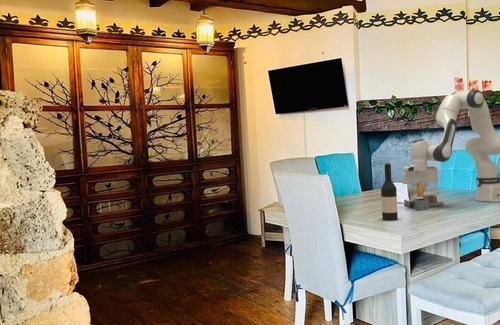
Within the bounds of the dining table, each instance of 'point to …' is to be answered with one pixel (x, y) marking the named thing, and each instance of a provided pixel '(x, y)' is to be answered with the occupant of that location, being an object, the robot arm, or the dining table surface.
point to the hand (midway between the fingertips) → (420, 190)
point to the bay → (432, 204)
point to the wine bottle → (389, 197)
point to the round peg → (420, 189)
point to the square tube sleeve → (420, 204)
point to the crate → (430, 198)
